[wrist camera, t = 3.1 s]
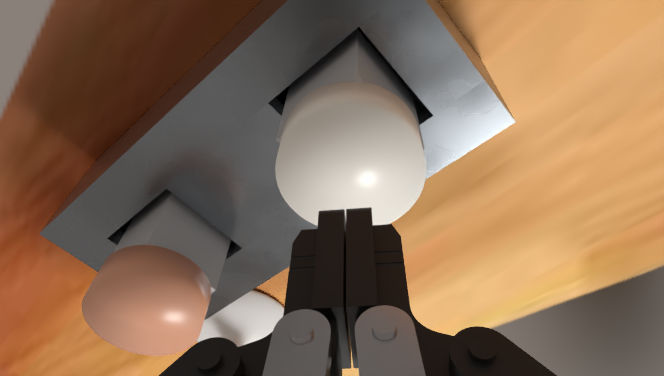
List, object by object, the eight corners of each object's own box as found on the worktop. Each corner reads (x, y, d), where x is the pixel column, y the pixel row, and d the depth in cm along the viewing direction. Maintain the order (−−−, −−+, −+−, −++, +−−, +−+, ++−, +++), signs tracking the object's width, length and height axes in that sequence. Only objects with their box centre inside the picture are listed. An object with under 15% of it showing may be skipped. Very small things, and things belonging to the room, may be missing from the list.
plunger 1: (251, 223, 28) (225, 325, 22) (191, 266, 30) (153, 369, 24) (177, 163, 26) (128, 258, 20) (118, 214, 28) (58, 313, 22)
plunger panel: (481, 60, 27) (515, 121, 22) (214, 251, 36) (188, 330, 30) (364, -100, 23) (368, -76, 17) (95, 161, 32) (39, 233, 26)
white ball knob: (430, 95, 23) (456, 183, 17) (344, 157, 25) (342, 253, 20) (358, 7, 21) (360, 74, 15) (271, 83, 23) (244, 167, 17)
